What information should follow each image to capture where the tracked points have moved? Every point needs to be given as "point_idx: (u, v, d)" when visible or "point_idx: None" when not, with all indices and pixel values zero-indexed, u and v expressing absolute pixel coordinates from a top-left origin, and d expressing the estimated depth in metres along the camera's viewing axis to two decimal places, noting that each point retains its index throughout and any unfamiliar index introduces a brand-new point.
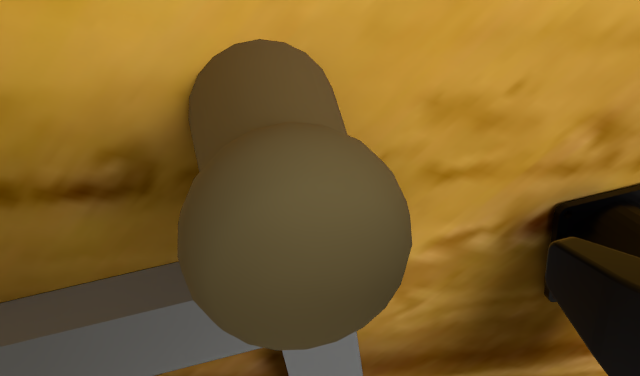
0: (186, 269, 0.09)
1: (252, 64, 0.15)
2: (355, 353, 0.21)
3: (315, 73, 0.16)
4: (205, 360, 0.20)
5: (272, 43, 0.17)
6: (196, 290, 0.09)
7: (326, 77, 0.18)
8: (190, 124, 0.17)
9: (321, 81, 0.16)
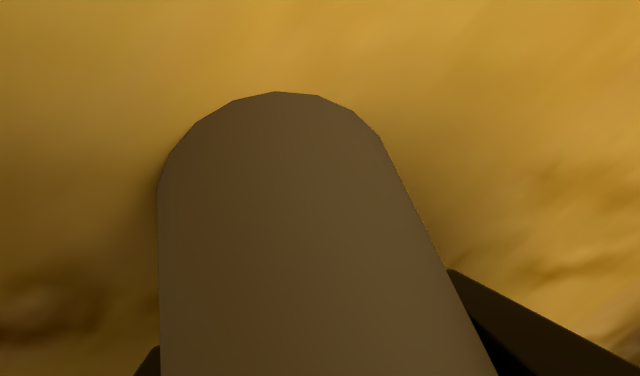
0: None
1: (267, 156, 0.08)
2: None
3: (379, 158, 0.09)
4: None
5: (298, 99, 0.10)
6: None
7: None
8: None
9: (391, 174, 0.09)
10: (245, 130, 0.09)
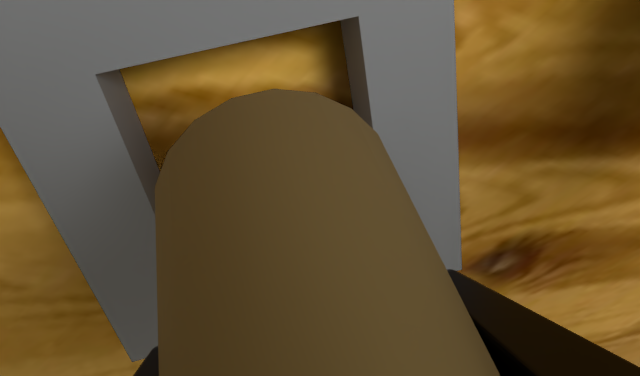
0: None
1: (265, 153, 0.08)
2: (450, 50, 0.16)
3: (377, 155, 0.09)
4: (263, 33, 0.15)
5: (296, 96, 0.10)
6: None
7: None
8: None
9: (390, 171, 0.09)
10: (243, 127, 0.08)
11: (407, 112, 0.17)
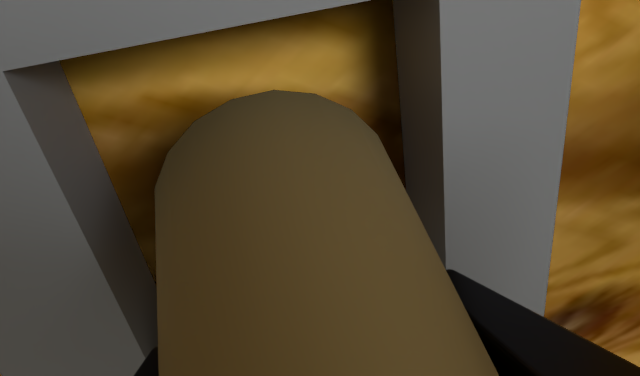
0: None
1: (265, 155, 0.08)
2: (568, 45, 0.11)
3: (377, 156, 0.09)
4: (287, 10, 0.09)
5: (296, 98, 0.10)
6: None
7: None
8: None
9: (390, 173, 0.09)
10: (243, 129, 0.08)
11: (495, 138, 0.12)
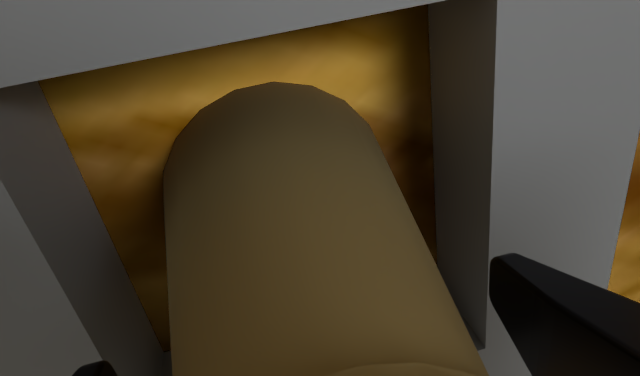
0: None
1: (265, 138, 0.08)
2: None
3: (367, 141, 0.10)
4: (311, 19, 0.07)
5: (294, 89, 0.10)
6: None
7: None
8: (164, 217, 0.11)
9: (378, 156, 0.10)
10: (245, 115, 0.09)
11: (552, 169, 0.10)
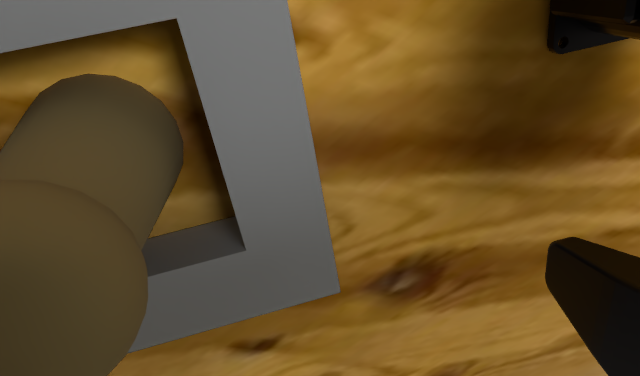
0: None
1: (55, 104, 0.14)
2: (291, 56, 0.15)
3: (135, 109, 0.16)
4: (63, 36, 0.13)
5: (99, 78, 0.16)
6: None
7: (166, 109, 0.18)
8: None
9: (140, 117, 0.15)
10: (56, 93, 0.15)
11: (251, 124, 0.16)
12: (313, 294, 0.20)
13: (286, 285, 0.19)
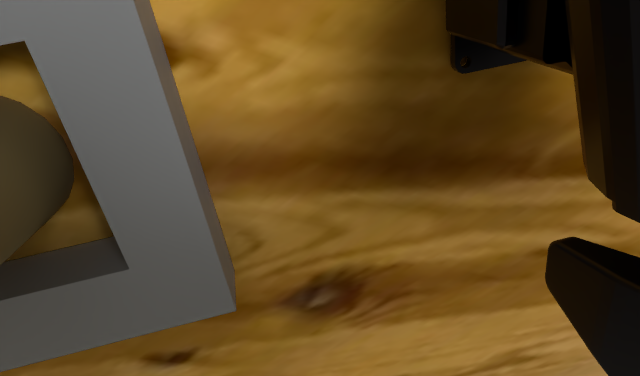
0: None
1: None
2: (153, 78, 0.15)
3: (3, 128, 0.16)
4: None
5: None
6: None
7: (49, 125, 0.18)
8: None
9: (5, 137, 0.15)
10: None
11: (119, 145, 0.16)
12: (207, 312, 0.20)
13: (177, 303, 0.19)
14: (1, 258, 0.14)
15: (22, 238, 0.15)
